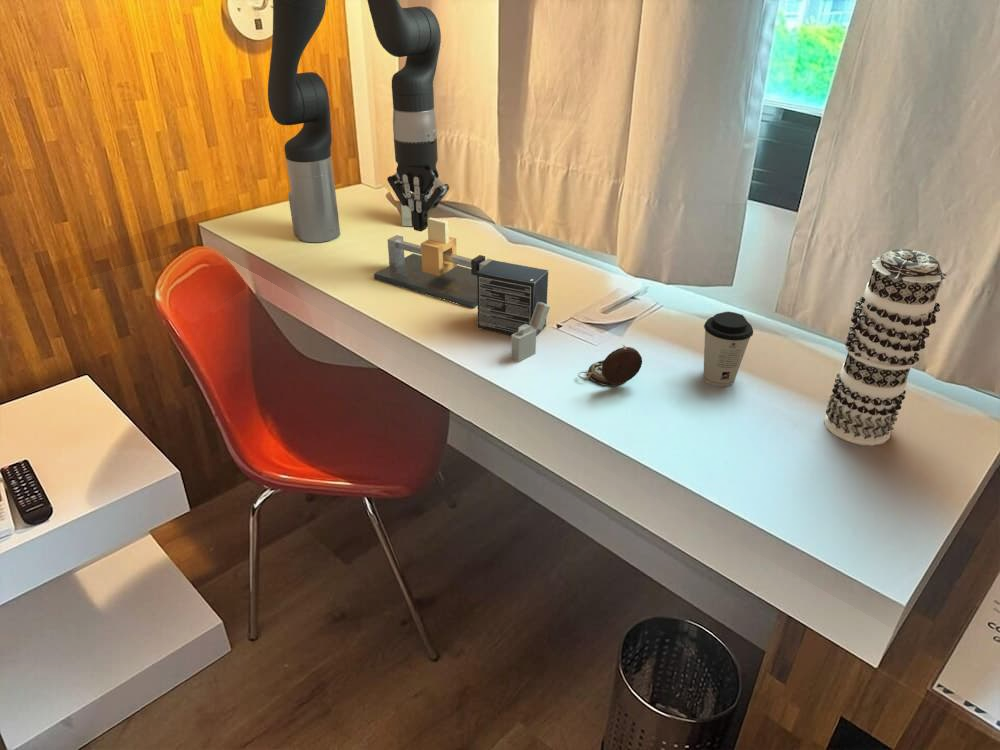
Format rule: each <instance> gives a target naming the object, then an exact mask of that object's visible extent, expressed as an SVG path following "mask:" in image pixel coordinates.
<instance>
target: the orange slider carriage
mask: <svg viewBox="0 0 1000 750" xmlns="http://www.w3.org/2000/svg"><path fill="white" fill-rule="evenodd" d="M427 221H428V227H427V235H428V237H427V239H426V240H425V241H423V242H421V243H420V246H421V254H420V255H421V256H422V271H423V272H426V273H430V274H433V275H437V276H441V275H442V274H444V273H446V272H448V271H449V270H451V269H453V268H455V267H456V266H457V265H458V264H454V263H451V262H447V261H443V252H447V253H451V254H455V255H458V254H457V238H456V237H451V236H449V235H450V234H449V232H450V231H449V221H448V220H443V219H439V218H436V217H428V219H427Z"/></svg>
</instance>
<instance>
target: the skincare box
mask: <svg viewBox="0 0 1000 750" xmlns="http://www.w3.org/2000/svg"><path fill="white" fill-rule="evenodd" d="M403 195H404V193H403ZM404 196H405V195H404ZM405 198H406V197H405ZM400 210H401V211H400V212H401V213H400V215H401V226H402V227H413V226H412V221H411V219H412V218H411V211H410V209H409V207H407V206H403V205H402V204H401V203H400Z"/></svg>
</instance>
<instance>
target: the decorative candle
mask: <svg viewBox="0 0 1000 750" xmlns="http://www.w3.org/2000/svg"><path fill="white" fill-rule="evenodd" d="M871 266H872V267H873V269H872V272H871V275H870V279H869V281H868V282H867V283H866V287H865V290H864V293H863V295H862V296H861V297H859V299H858V300H856V301H855V306H854V308H853V309H854V310H853V312H852V316H851V319H850V321H851V322H852V324H851V325H850V326H849V331H848V333H847V337H846V341H845V343H844V346H845V349H846V351H847V355H846V359H845V361H844V362H843V364H842V367H841V370H840V372H838V373H837V374H836V378H835V379H834V384H833V388H832V390H831V392H832V393H831V394H830V396H829V400H828V404H827V406H826V409H825V416H824V420H823V423H824V424H825V427H826V429H827V430H828V431H830V432H831V433H832V434H833V435H834V436H836V437H838V438H840V439H841V440H844V441H845V442H847V443H852V444H856V445H858V446H859V445H861V446H872V447H874V446H879V445H883V444H885V443H886V442H887V441H888V440H889V439H890V437H891V431H894V425H895V424H896V423H895V422H897V421H898V417H897V416H898V415H899V412H898V411H900V410H901V409H902V403H903V401H904V400H905V399H906V387H907V383H908V377H909V374H910V371H911V368H913V367H914V366H916V365H917V363H918V362H919V361H920V354H919V353H918V352H920V350H923V349H925V348H926V341H925V339H927V338H929V337H930V335H931V334H930V330H929V328H928V327H930V326H931V325H934V324H936V323H937V315H936V314H937V313H938V312H940V311H941V308H940V306H941V305H940V303H938V302H937V301H938V300H937V297H938V293H939V290H940V287H941V284H942V281H943V280H945V279H946V278H947V273H946V272H945V271H944V270H943V268H941V266H940V263H939V261H938V260H937V259H936V258H935V257H934V256H933V255H930V254H928V253H926V252H923V251H919V250H916V249H915V250H913V249H905V248H896V249H891V250H889V251H888V252H885V253H883V254H882V255H881V256H878V257H876V258H874V259H872V261H871ZM862 304H863V305H862Z"/></svg>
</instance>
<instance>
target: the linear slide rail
mask: <svg viewBox="0 0 1000 750" xmlns="http://www.w3.org/2000/svg"><path fill="white" fill-rule="evenodd" d="M387 251H388V263H389V265H388V266H385V267H383V268H382V269H380V270H378V271H376V272H374V273H373V277H374V280H377V281H379V282H383V283H386V284H390V285H392V286H396V287H399V288H403V289H405V290H406V289H407V290H409V291H412V292H416V293H419V294H423V295H426V294H427V295H426V296H429V295H430V297H433V298H436V297H437V298H436V299H439V298H441V299H440V300H443V299H445V300H444V301H446V300H447V302H449V301H451V302H450V303H453V302H454V303H453V304H456V303H457V304H456V305H459V304H460V306H463V307H466V308H470V309H474V308H475V307H478V295H477V293H478V292H477V291H478V289H477V287H478V286H477V271H479V270H480V269H481V268H483V267H484V266H485V265H487V264H488V263H489V262H491V261H492V260H493V259H491V258H487V259H486V256H485V255H482V254H479V255H477V256H476V257H474V258H469V257H465V256H461V255H458V254H457V255H455V254H451V253H447V252H443V261H447V262H451V263H454V264H457V266H456V267H455V268H453V269H451V270H449V271H448V272H446V273H444V274H442V275H441V276H437V275H433V274H430V273H426V272H423V271H422V256H421V244H416V243H412V242H408V241H406V240H405V241H404V236H401V235H397V234H396V235H394V236H392V237H389V238H388V239H387ZM405 251H406V252H410V253H411V254H410V255H407V256H405Z"/></svg>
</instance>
